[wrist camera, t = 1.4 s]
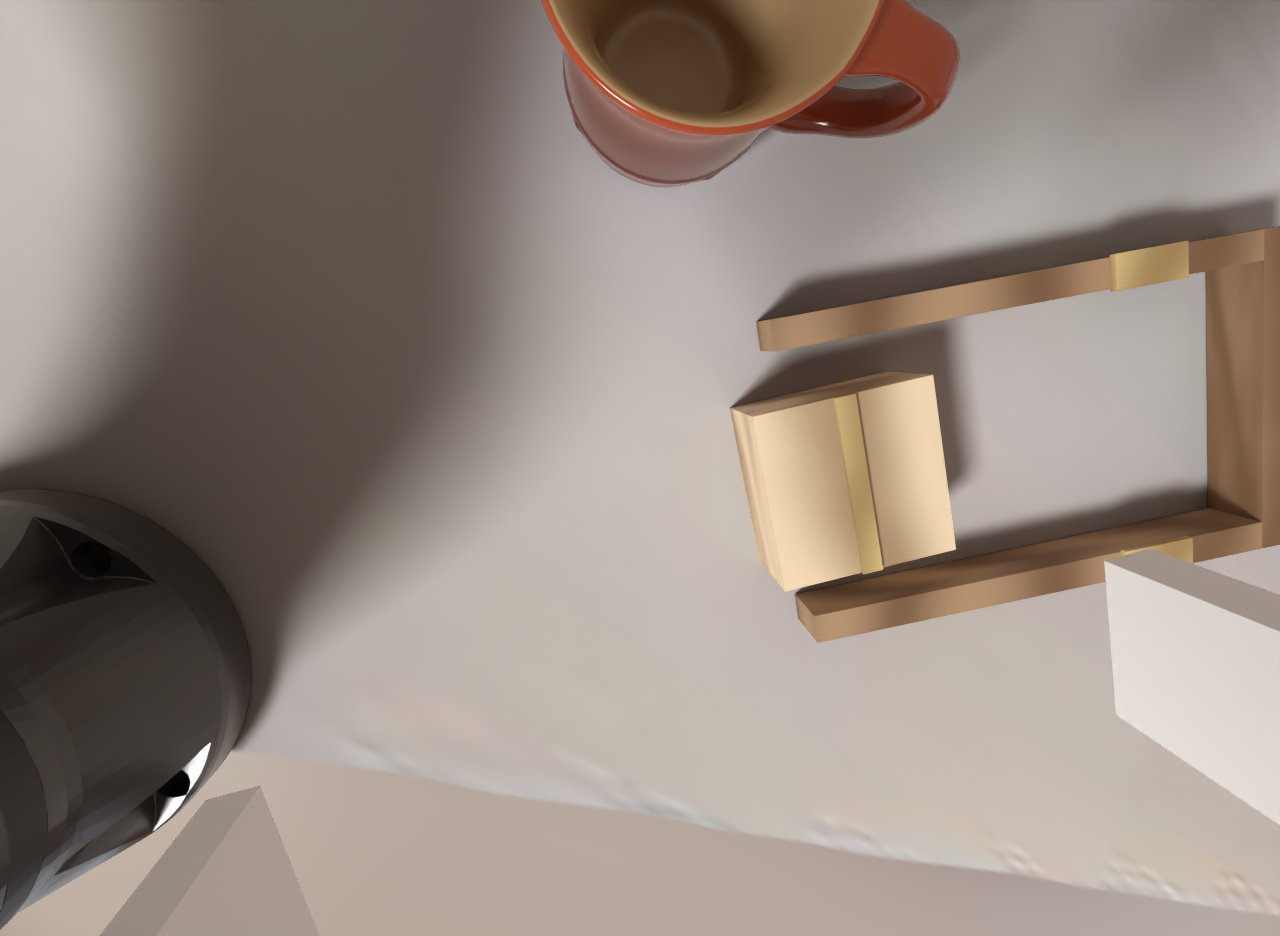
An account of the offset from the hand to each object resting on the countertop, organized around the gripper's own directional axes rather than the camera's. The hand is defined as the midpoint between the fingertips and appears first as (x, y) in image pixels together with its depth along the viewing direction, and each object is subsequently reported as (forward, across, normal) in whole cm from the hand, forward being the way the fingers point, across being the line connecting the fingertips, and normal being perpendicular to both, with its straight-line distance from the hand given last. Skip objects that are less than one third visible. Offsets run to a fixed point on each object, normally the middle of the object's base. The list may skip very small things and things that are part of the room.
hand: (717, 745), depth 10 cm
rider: (+19, +9, -1) cm, 21 cm away
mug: (+19, +6, +14) cm, 24 cm away
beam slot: (+18, +17, -2) cm, 25 cm away
